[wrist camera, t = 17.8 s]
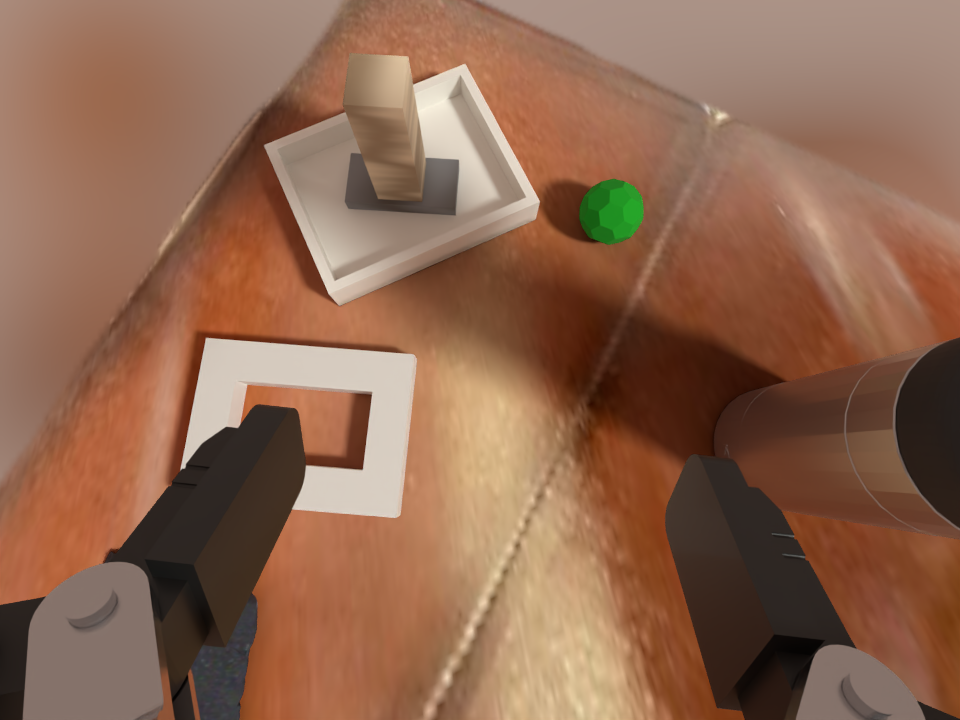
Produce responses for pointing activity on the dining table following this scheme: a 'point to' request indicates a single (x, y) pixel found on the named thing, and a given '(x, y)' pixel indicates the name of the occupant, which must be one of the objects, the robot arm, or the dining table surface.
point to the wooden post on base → (392, 143)
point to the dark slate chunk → (223, 668)
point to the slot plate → (322, 370)
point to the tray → (400, 235)
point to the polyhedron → (611, 211)
